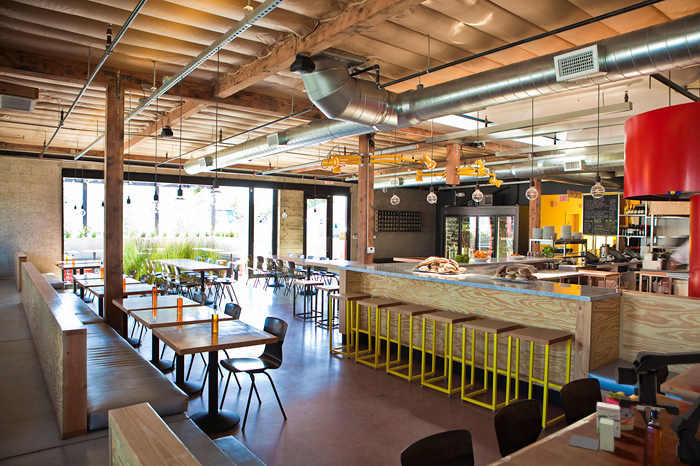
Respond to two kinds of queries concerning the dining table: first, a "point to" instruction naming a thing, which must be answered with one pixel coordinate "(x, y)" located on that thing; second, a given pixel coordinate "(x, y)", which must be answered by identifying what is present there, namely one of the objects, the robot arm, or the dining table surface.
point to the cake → (622, 411)
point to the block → (607, 434)
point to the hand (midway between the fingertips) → (648, 428)
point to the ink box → (609, 416)
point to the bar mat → (584, 442)
